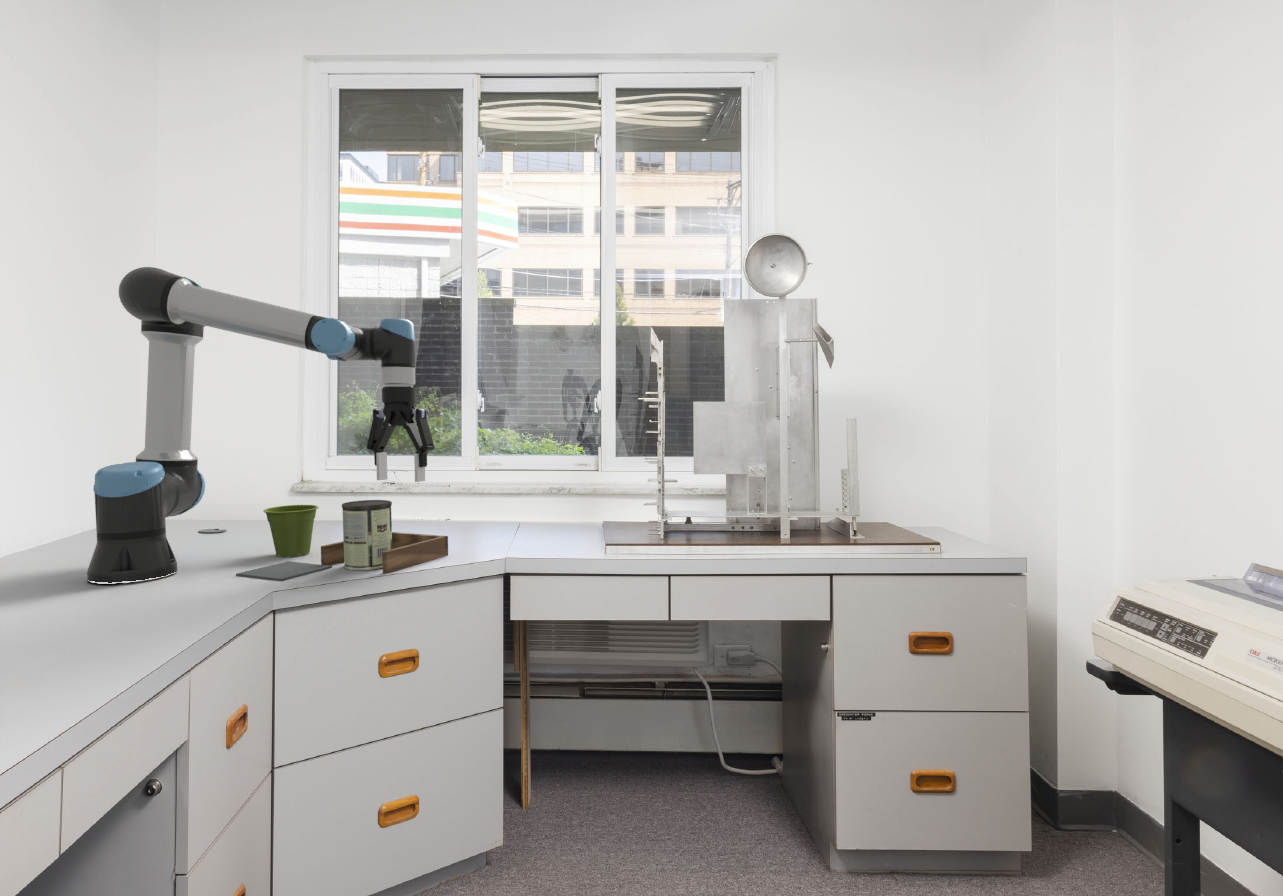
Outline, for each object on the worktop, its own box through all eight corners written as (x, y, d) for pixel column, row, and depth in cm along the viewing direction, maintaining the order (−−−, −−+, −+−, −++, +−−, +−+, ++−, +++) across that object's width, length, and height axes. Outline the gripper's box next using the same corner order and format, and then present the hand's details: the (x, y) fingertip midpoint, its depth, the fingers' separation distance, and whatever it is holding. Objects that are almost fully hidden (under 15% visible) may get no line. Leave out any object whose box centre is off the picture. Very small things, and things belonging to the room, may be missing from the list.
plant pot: (265, 552, 171) (263, 506, 171) (318, 548, 177) (317, 503, 176) (264, 561, 161) (262, 512, 160) (321, 556, 166) (319, 509, 166)
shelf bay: (321, 566, 156) (320, 546, 155) (387, 549, 175) (386, 531, 174) (387, 573, 149) (386, 552, 149) (448, 554, 168) (447, 536, 168)
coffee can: (357, 560, 162) (356, 499, 161) (400, 561, 161) (399, 499, 160) (334, 570, 152) (332, 505, 151) (379, 571, 151) (378, 505, 150)
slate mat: (236, 575, 147) (235, 573, 147) (288, 563, 159) (288, 561, 159) (281, 580, 142) (281, 578, 142) (332, 567, 154) (331, 565, 154)
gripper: (449, 385, 164) (451, 480, 165) (371, 387, 172) (374, 477, 173) (428, 384, 157) (430, 483, 158) (348, 386, 165) (351, 480, 166)
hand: (400, 480), depth 166 cm, fingers open, 10 cm apart
